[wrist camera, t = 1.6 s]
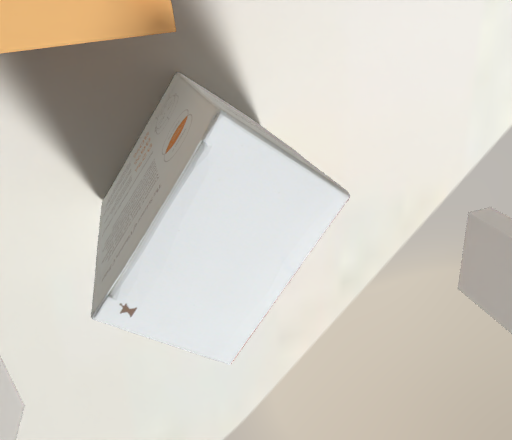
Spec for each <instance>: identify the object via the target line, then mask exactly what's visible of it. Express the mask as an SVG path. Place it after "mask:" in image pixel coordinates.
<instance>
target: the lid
mask: <svg viewBox="0 0 512 440" xmlns="http://www.w3.org/2000/svg"><path fill="white" fill-rule="evenodd" d="M170 32H176V27H175V21H174V15H173V9H172V3H171V0H0V53H8V52H16V51H24V50H33V49H41V48H49V47H57V46H65V45H73V44H81V43H89V42H97V41H105V40H113V39H121V38H129V37H138V36H146V35H154V34H162V33H170Z"/></svg>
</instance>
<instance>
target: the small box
mask: <svg viewBox="0 0 512 440" xmlns="http://www.w3.org/2000/svg"><path fill="white" fill-rule="evenodd" d="M349 198H350V195H349V193H348V192H347V191H346V190H345V189H344V188H343V187H341V186H340V185H339V184H337V183H336V182H335V181H333V180H332V179H331V178H329V177H328V176H327V175H325V174H324V173H323V172H321V171H320V170H319V169H317V168H316V167H315V166H314V165H312V164H311V163H310V162H308V161H307V160H306V159H305V158H303V157H302V156H301V155H300V154H299V153H298V152H296V151H295V150H294V149H292V148H291V147H289V146H288V145H287V144H285V143H284V142H283V141H281V140H280V139H278V138H277V137H276V136H274V135H273V134H272V133H270V132H269V131H267V130H266V129H265V128H263V127H262V126H261V125H259V124H258V123H256V122H255V121H254V120H252V119H251V118H249V117H248V116H246V115H245V114H243V113H242V112H240V111H239V110H237V109H236V108H234V107H233V106H231V105H230V104H228V103H227V102H225V101H224V100H222V99H221V98H219V97H218V96H216V95H214V94H213V93H211V92H210V91H208V90H207V89H205V88H203V87H202V86H200V85H199V84H197V83H195V82H194V81H192V80H191V79H189V78H188V77H186V76H184V75H183V74H181V73H179V72H177V73H176V74H175V75H174V77H173V79H172V81H171V83H170V85H169V86H168V88H167V90H166V92H165V93H164V95H163V97H162V99H161V100H160V102H159V104H158V106H157V107H156V109H155V111H154V113H153V114H152V116H151V118H150V120H149V121H148V123H147V125H146V127H145V128H144V130H143V132H142V134H141V135H140V137H139V139H138V141H137V142H136V144H135V146H134V148H133V149H132V151H131V153H130V155H129V156H128V158H127V160H126V162H125V163H124V165H123V167H122V169H121V171H120V172H119V174H118V176H117V177H116V179H115V181H114V183H113V184H112V186H111V188H110V190H109V191H108V193H107V195H106V196H105V198H104V199H103V201H102V207H101V216H100V226H99V235H98V246H97V257H96V270H95V282H94V292H93V303H92V312H91V318H92V319H93V320H96V321H99V322H102V323H105V324H108V325H111V326H114V327H117V328H120V329H122V330H125V331H128V332H131V333H134V334H137V335H140V336H143V337H146V338H149V339H152V340H155V341H158V342H161V343H164V344H168V345H171V346H174V347H177V348H180V349H183V350H186V351H189V352H192V353H195V354H198V355H201V356H204V357H207V358H210V359H213V360H216V361H220V362H223V363H226V364H232V362H233V361H234V359H235V358H236V357H237V355H238V354H239V352H240V351H241V349H242V348H243V347H244V345H245V344H246V342H247V341H248V340H249V338H250V337H251V335H252V334H253V333H254V331H255V330H256V328H257V327H258V326H259V324H260V323H261V321H262V320H263V318H264V317H265V316H266V314H267V313H268V311H269V310H270V308H271V307H272V306H273V304H274V303H275V301H276V300H277V299H278V297H279V296H280V294H281V293H282V292H283V290H284V289H285V287H286V286H287V285H288V283H289V282H290V281H291V279H292V278H293V276H294V275H295V273H296V272H297V271H298V269H299V268H300V266H301V265H302V263H303V262H304V261H305V259H306V258H307V256H308V255H309V254H310V252H311V251H312V250H313V248H314V247H315V245H316V244H317V243H318V241H319V240H320V238H321V237H322V235H323V234H324V233H325V231H326V230H327V229H328V227H329V226H330V224H331V223H332V222H333V220H334V219H335V217H336V216H337V215H338V213H339V212H340V210H341V209H342V208H343V206H344V205H345V203H346V202H347V201H348V200H349Z"/></svg>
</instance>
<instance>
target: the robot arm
mask: <svg viewBox="0 0 512 440" xmlns="http://www.w3.org/2000/svg"><path fill="white" fill-rule="evenodd" d="M458 289H459V290H460V291H461V292H462V293H464V294H465V295H466V296H467V297H468V298H469V299H471V300H472V301H473V302H474V303H475V304H477V305H478V306H479V307H480V308H481V309H483V310H484V311H485V312H486V313H487V314H489V315H490V316H491V317H492V318H493V319H494V320H496V321H497V322H498V323H499V324H501V325H502V326H503V327H504V328H505V329H506V330H508V331H509V332H510V333H511V334H512V218H510V217H508V216H506V215H504V214H503V213H501V212H499V211H497V210H495V209H493V208H492V207H489V208H484V209H480V210H476V211H471V212H468V218H467V225H466V232H465V240H464V247H463V254H462V261H461V269H460V276H459V283H458ZM24 406H25V405H24V403H23V401H22V399H21V397H20V395H19V393H18V391H17V389H16V387H15V385H14V383H13V381H12V379H11V377H10V375H9V373H8V371H7V369H6V367H5V365H4V363H3V360H2V358H1V356H0V440H16V438H17V434H18V430H19V426H20V422H21V418H22V414H23V410H24Z"/></svg>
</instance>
